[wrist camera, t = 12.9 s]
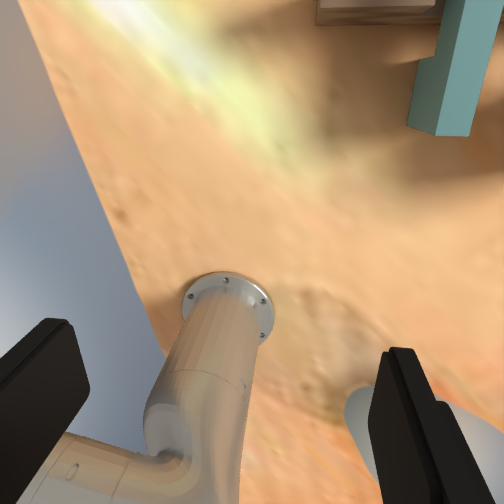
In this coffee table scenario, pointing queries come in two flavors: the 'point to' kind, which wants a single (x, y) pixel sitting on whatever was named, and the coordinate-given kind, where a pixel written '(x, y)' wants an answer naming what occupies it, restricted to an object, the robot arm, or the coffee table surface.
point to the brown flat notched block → (380, 12)
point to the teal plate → (455, 68)
